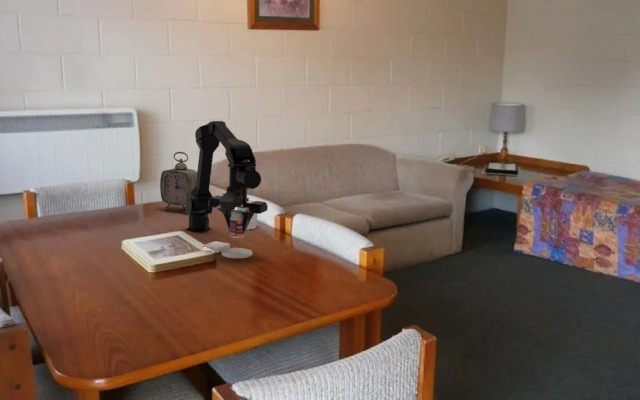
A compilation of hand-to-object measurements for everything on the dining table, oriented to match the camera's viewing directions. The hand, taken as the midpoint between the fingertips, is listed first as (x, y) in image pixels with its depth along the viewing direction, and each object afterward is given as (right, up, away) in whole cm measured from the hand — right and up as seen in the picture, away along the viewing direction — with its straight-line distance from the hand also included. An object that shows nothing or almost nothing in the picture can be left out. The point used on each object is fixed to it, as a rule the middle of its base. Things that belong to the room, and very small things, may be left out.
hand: (237, 230), depth 196 cm
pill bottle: (0, -2, 0) cm, 2 cm away
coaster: (0, -8, +1) cm, 8 cm away
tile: (-6, -5, +9) cm, 12 cm away
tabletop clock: (-31, +5, +57) cm, 65 cm away
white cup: (-1, -1, +35) cm, 35 cm away
